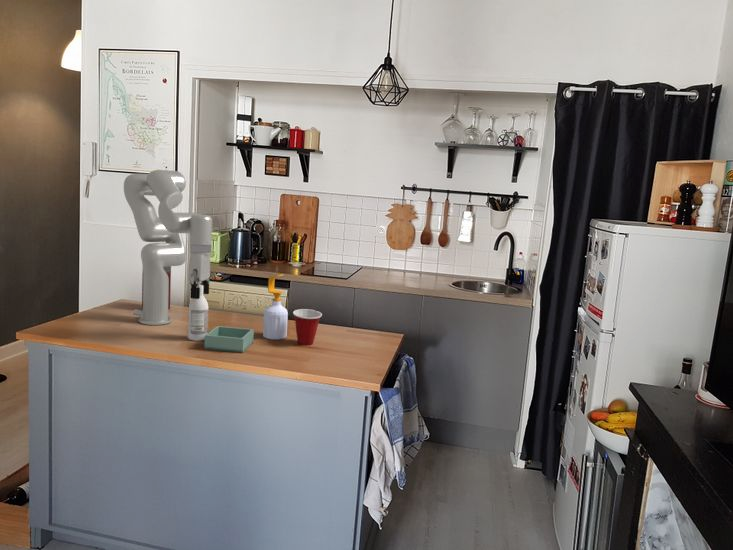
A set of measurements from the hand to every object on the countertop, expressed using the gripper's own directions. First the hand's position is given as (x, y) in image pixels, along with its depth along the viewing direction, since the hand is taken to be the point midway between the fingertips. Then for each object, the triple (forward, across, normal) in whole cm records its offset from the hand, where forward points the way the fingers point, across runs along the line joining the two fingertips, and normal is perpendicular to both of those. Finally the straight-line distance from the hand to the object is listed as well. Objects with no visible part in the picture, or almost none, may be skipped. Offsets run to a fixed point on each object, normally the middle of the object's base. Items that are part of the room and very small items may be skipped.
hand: (199, 296), depth 211 cm
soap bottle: (+17, -13, +25) cm, 33 cm away
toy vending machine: (+15, -39, -33) cm, 53 cm away
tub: (+16, +4, +13) cm, 21 cm away
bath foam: (+16, -1, -1) cm, 16 cm away
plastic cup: (+17, -8, +38) cm, 42 cm away
